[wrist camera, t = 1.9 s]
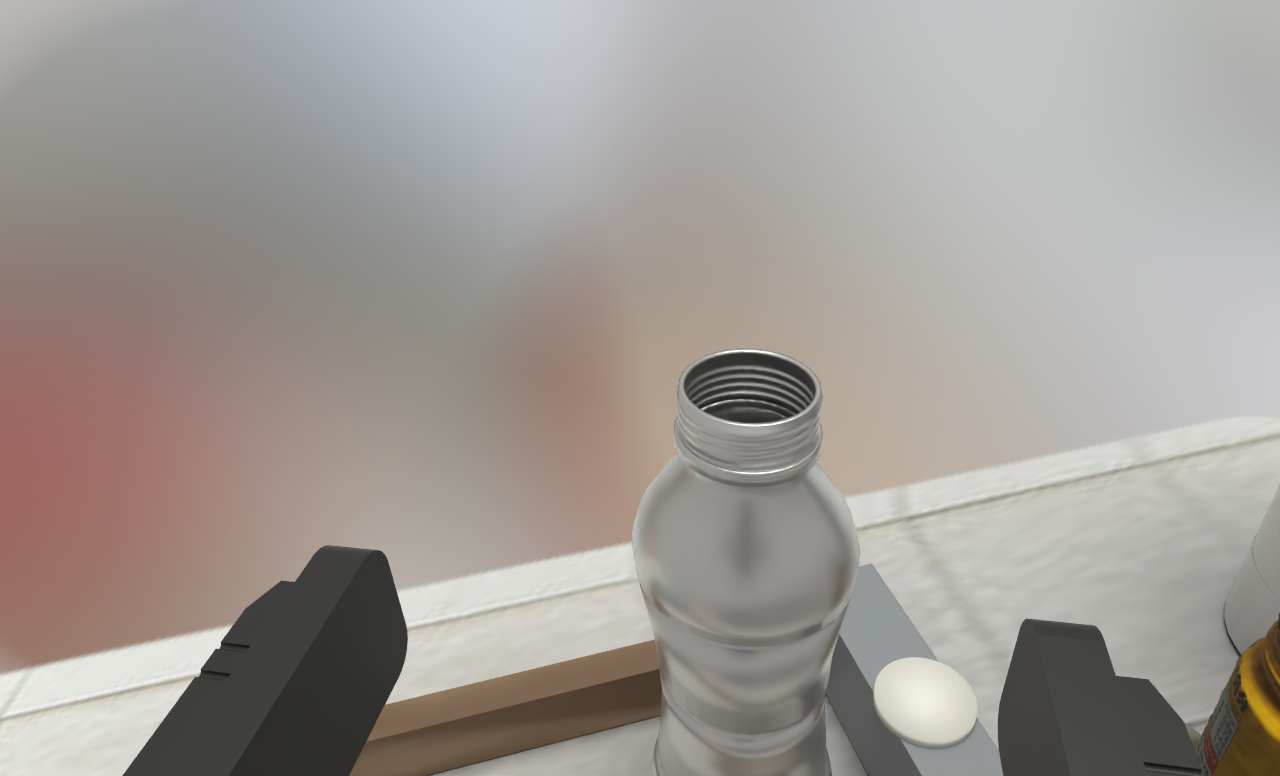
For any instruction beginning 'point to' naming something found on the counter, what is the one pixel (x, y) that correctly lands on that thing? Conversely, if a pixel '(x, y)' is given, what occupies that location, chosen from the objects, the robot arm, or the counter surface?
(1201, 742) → the condiment
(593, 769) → the counter surface
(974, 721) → the grey beam
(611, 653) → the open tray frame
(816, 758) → the plastic bottle
